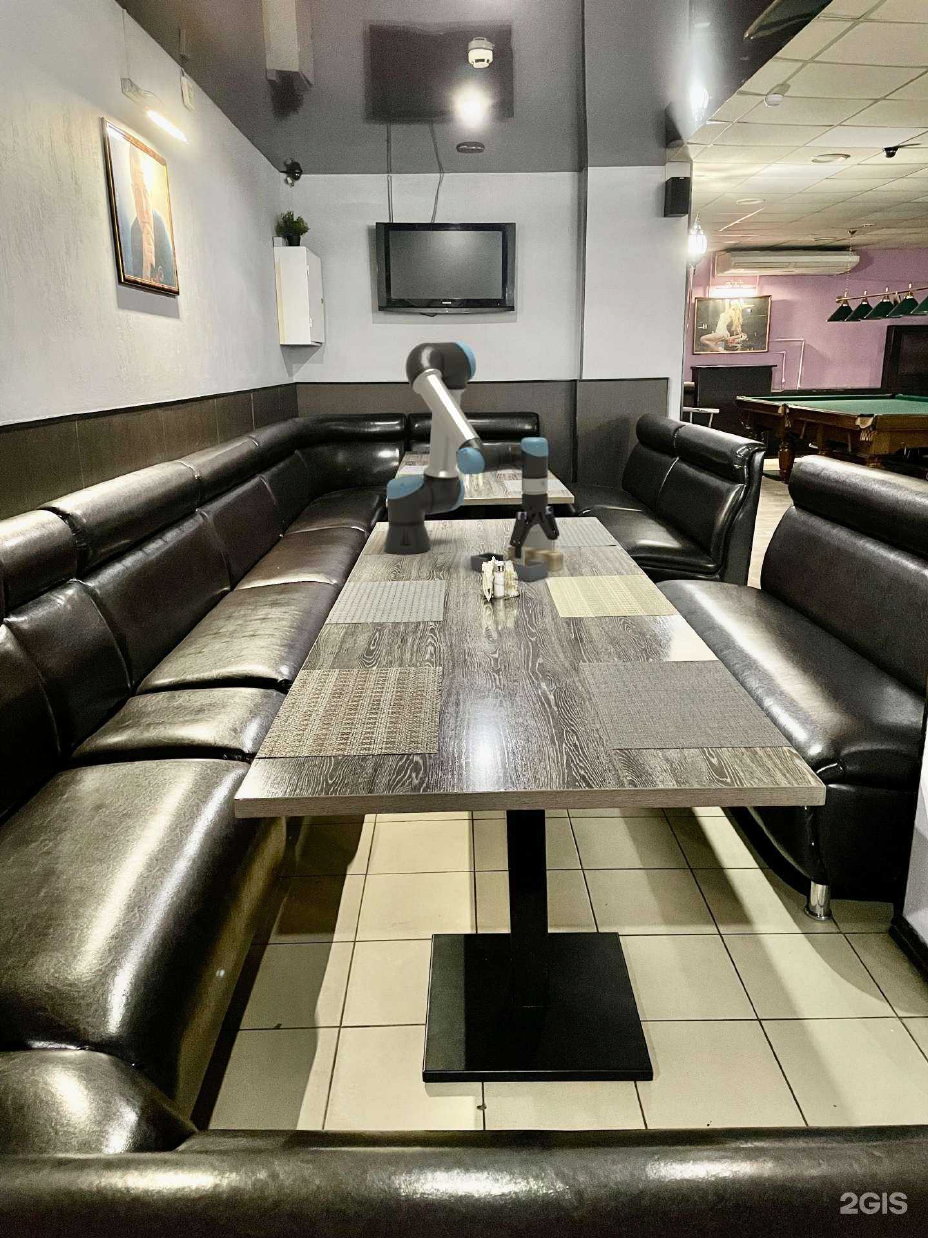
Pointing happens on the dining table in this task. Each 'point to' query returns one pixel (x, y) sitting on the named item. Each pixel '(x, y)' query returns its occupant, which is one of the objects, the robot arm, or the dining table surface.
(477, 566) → the grey u-channel bracket
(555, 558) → the tan long bar
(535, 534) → the teacup
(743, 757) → the dining table surface
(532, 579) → the grey hollow tray
